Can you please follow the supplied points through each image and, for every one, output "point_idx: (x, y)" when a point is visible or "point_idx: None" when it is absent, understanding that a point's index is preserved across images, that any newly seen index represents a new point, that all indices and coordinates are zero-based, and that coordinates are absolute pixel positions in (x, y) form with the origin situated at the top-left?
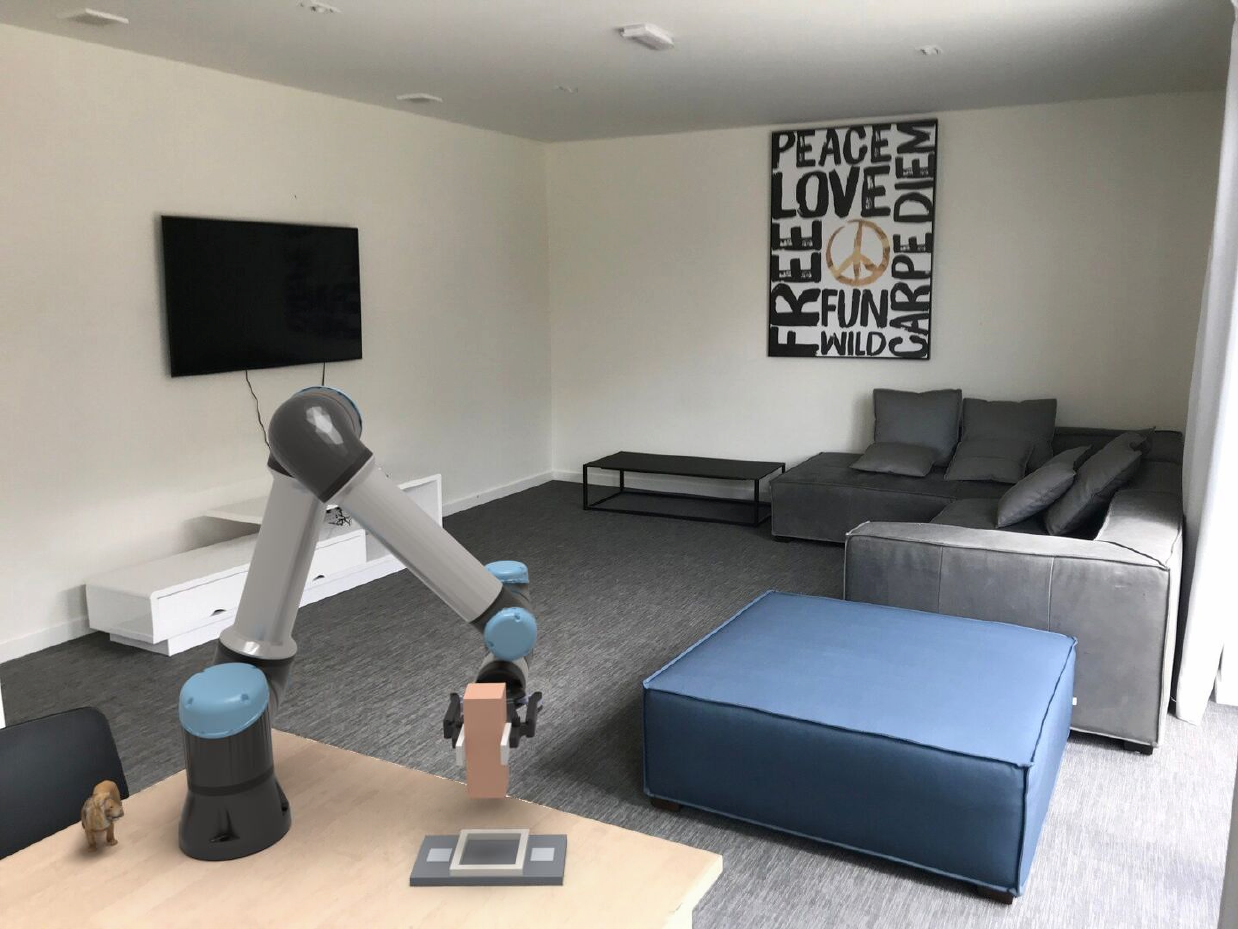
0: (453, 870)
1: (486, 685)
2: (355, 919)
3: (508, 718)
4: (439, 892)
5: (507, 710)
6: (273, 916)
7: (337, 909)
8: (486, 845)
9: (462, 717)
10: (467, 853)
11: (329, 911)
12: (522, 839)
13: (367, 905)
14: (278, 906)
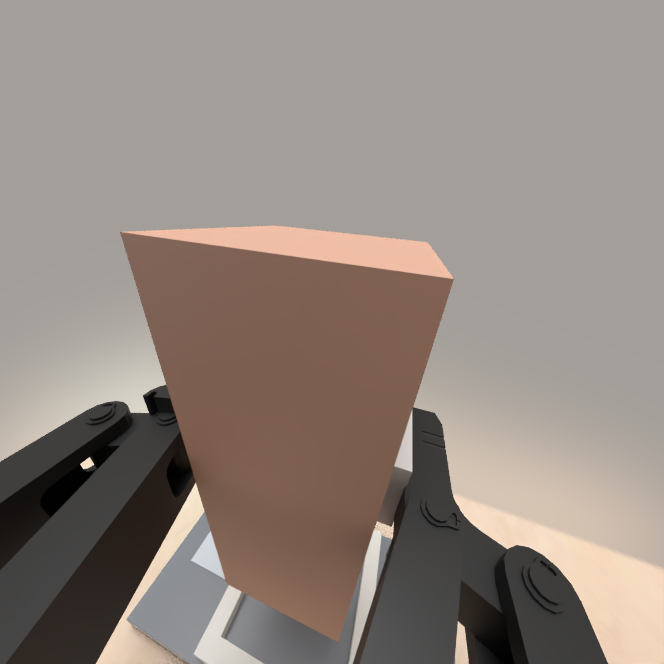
0: (375, 531)
1: (281, 244)
2: (491, 507)
3: (114, 554)
4: (392, 529)
5: (39, 614)
6: (627, 562)
7: (532, 543)
8: (303, 645)
9: (436, 609)
10: (347, 620)
11: (542, 542)
12: (234, 596)
13: (490, 536)
14: (647, 594)
